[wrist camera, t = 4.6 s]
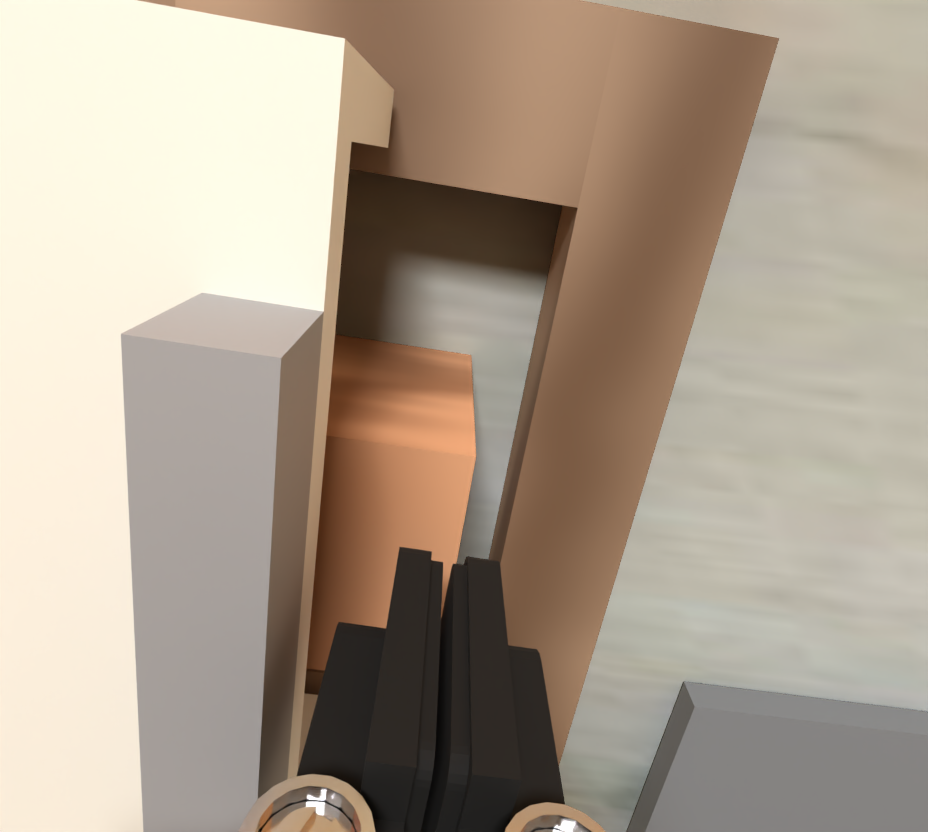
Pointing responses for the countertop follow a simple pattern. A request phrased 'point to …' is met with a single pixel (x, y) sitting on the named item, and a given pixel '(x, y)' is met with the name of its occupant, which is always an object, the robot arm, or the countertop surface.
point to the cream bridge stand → (164, 402)
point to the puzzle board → (567, 246)
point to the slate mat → (785, 766)
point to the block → (388, 477)
